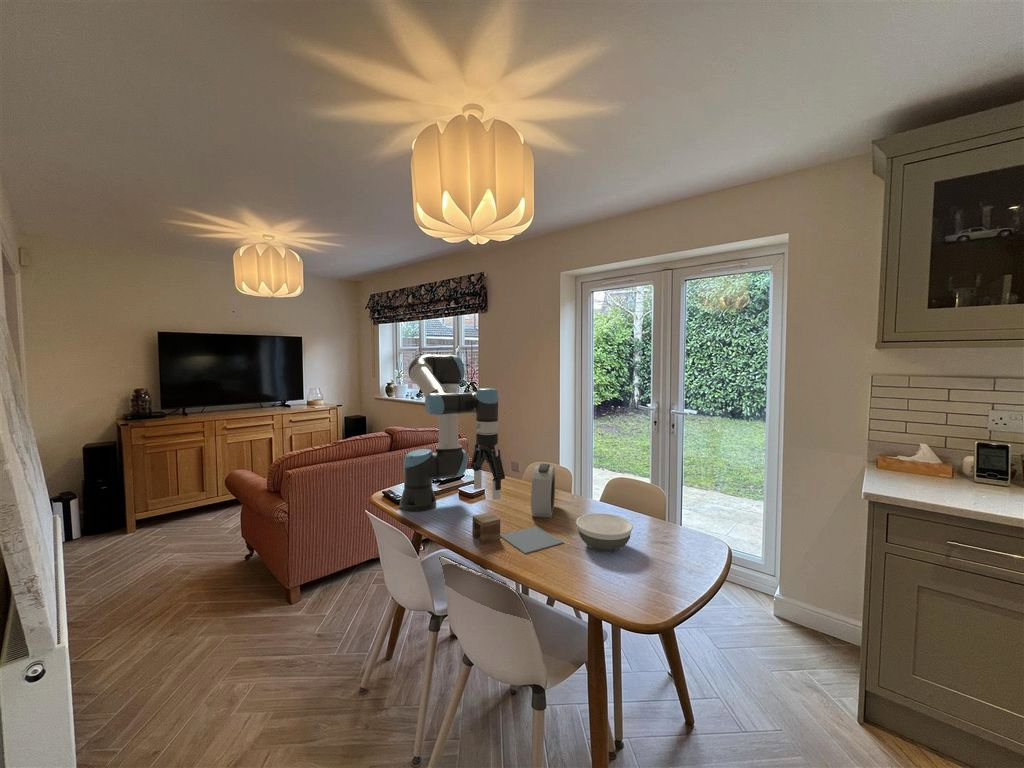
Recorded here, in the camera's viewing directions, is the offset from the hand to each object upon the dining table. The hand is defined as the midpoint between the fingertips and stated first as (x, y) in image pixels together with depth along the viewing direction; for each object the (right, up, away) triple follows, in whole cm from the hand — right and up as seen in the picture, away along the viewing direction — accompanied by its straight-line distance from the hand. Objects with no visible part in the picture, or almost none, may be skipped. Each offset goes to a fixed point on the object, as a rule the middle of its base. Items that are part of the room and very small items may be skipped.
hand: (486, 493), depth 148 cm
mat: (+16, -16, 0) cm, 22 cm away
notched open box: (0, -16, +1) cm, 16 cm away
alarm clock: (+22, -15, +28) cm, 38 cm away
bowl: (+40, -17, -4) cm, 43 cm away
